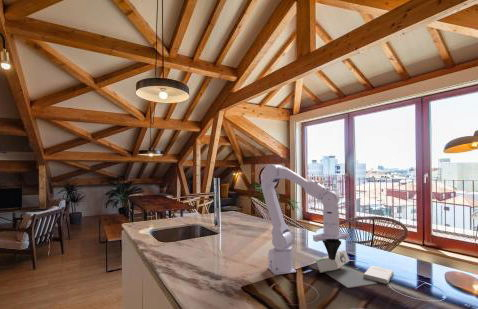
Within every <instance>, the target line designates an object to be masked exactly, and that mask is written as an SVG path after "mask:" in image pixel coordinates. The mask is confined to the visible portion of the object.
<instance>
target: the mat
mask: <svg viewBox="0 0 478 309" xmlns="http://www.w3.org/2000/svg"><path fill="white" fill-rule="evenodd" d="M324 273H325V274H326V275H328V276H329V277H331V278H332V279H334V280H335V281H337V282H338V283H339V284H341V285H343V287H346V288H347V289H351V288H358V287H365V286H371V285H377V284H378V282H377V281H373V280H369V279H366V278H364V277H363V273H360V272H358V271H357V270H355V269H353V268H345V269H336V270H331V271H327V272H324Z"/></svg>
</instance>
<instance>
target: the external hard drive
mask: <svg viewBox="0 0 478 309" xmlns="http://www.w3.org/2000/svg"><path fill="white" fill-rule="evenodd" d="M362 275H363V277H364V278H366V279H369V280H373V281H374V282H377V283H382V284H388V283H389V282H390V280H391V278H392V277H393V275H394V270H393V269H391V268H390V269H389V268H386V267H382V266H381V267H380V266H376V265H370V266H369V267H368V269H366V271H365V272H364V273H362Z"/></svg>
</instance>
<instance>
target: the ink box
mask: <svg viewBox="0 0 478 309" xmlns="http://www.w3.org/2000/svg"><path fill="white" fill-rule="evenodd" d="M350 261H351V260H350V258H349V256H348V253H347V251H346V250H345V249H342V250H337V253H336V257H335V260H331V259H329V257H328V254H326V255H325V256H323V257H321V258H319V259H318V260H316V261H315V262H316V266H317V268H318V271H319V273H320V274H321V273H322V274H323V273H325V272H327V271H335V270H340V268H342V267H343V266H345V265H346V264H347V263H349V262H350Z"/></svg>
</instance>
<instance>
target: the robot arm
mask: <svg viewBox="0 0 478 309" xmlns="http://www.w3.org/2000/svg"><path fill="white" fill-rule="evenodd" d="M261 176H262V178H261V184H260V187H261V191H262V194H263V198H264V201H265V204H266V208H267V212H268V215H269V218H270V221H271V225H272V230H271V236H272V238H271V239H272V240H271V241H272V242H271V244H272V246H273V248H271V249H269V250H268V253H267V254H268V259H267V260H268V266H267V269H268V270H270V271H271V272H272V273H273V275H277V276H278V275H285V274H292V273H297V270H296V269H295V268H293V246H292V244H293V242H294V240H295V239H294V238H295V236H294V233H292V231H291V229H290V227H289V226H288V224H287V223H286V222H285V219H284V215H283V212H282V209H281V204H280V203H279V198H278V196H277V193H276V192H277V191H276V189H275V187H276V186H277V184H278V182H279V181H280V180H281V179H287V180H289V181H291V182H292V183H294V184H296V185H298V186H300V187H302V188H303V189H304V193H306V194H308V195H309V196H310V197H312V198H315V199H316V200H317V201H321V204H322V206H323V208H322V209H323V210H322V218H323V219H322V220H323V228H322V229H323V232H322V233H319V234H315V235H314V234H313V235H312V241H314V242H315V243H316V242H317V243H319V242H322V243H323V245H324V247H325V250H326V252H327V255H328V257H329V259H331V260H335V257H336V253H337V252H338V251H339V248H340V246H341V245H342V241H341V240H343V239H345V240H346V239H347V240H348V239H350V233H349V232H340V211H339V210H340V209H339V203H340V200H341V197H340V194H339V193H338V192H337V191H335V190H334V189H331V190H330V187H328V186H327V187H326V186H324V185H323V184H320V183H319V182H320V181H319V180H313V179H312V180H307V179H306V178H304V177H302V176H301V175H299V174H298V173H297V172H294V171H293V170H291V168H288V167H286V166H283V165H282V164H279V163H278V164H272V163H271V164H267V165H266V166H264V168H263V170H262V171H261Z"/></svg>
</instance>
